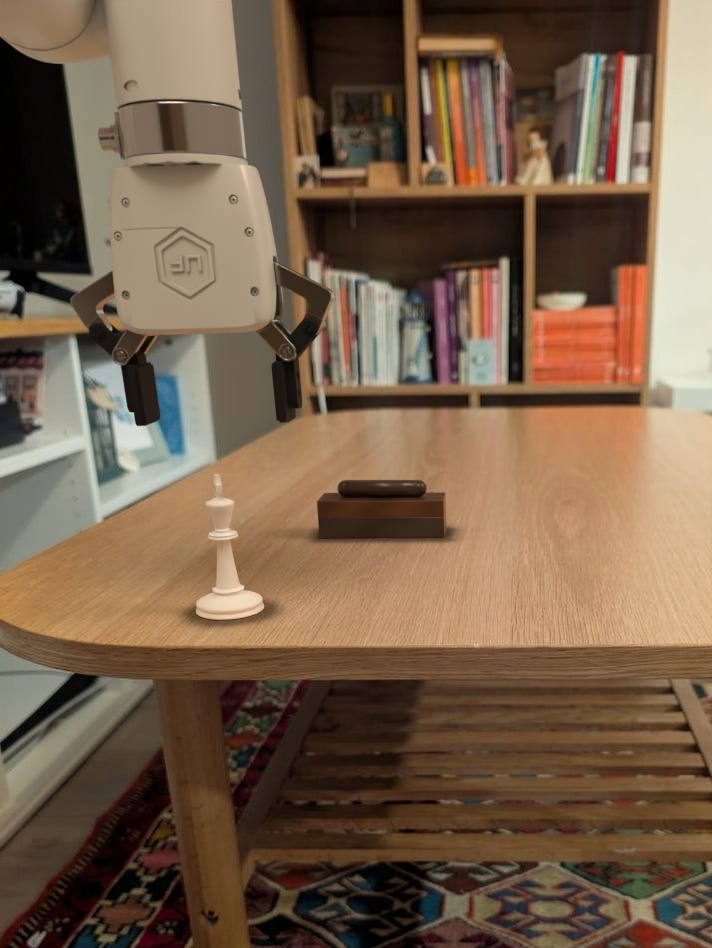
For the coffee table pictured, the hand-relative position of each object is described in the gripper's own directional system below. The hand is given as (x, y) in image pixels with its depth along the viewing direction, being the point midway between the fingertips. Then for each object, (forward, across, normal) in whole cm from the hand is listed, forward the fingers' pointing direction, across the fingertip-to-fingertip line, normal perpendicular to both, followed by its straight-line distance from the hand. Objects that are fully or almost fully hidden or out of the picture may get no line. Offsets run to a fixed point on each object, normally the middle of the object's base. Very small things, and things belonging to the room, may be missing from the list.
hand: (217, 421), depth 65 cm
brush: (+14, +8, +24) cm, 29 cm away
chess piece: (+14, -1, 0) cm, 14 cm away
